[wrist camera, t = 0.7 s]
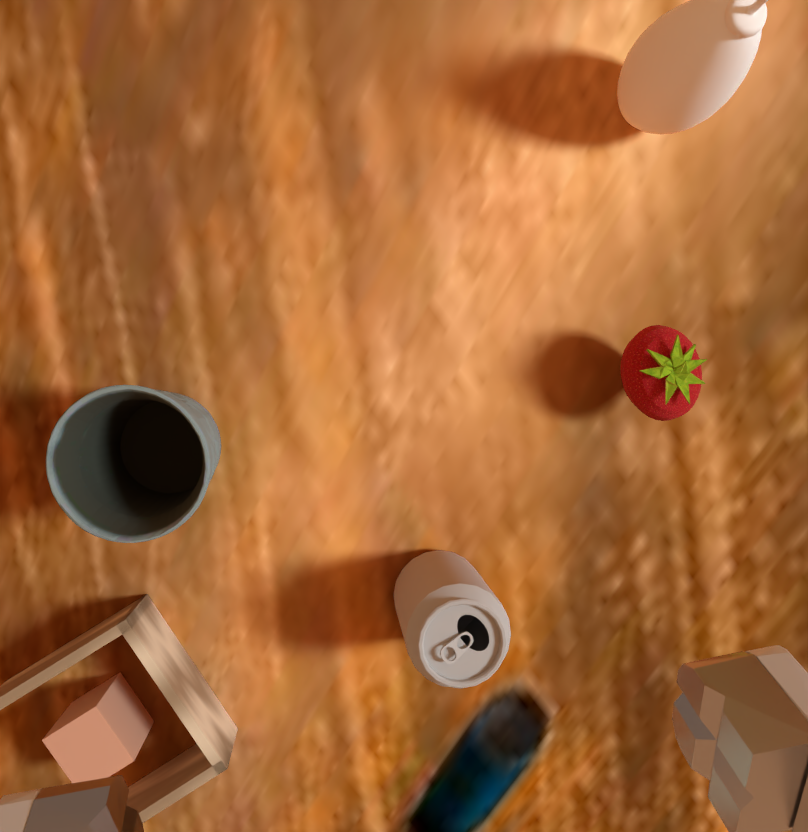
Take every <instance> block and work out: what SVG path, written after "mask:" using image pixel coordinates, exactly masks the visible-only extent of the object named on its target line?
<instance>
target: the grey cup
mask: <svg viewBox="0 0 808 832" xmlns="http://www.w3.org/2000/svg"><path fill="white" fill-rule="evenodd" d="M220 453H221V439H220V434H219V430H218V427H217V425H216V423H215V422H214V420H213V418H212V416H211V414H210V413H209V412H208V411H207V410H206V409H205V408H204V407H203V406H202V405H201V404H199V403H198V402H196V401H195V400H193V399H191V398H189V397H187V396H184V395H182V394H178V393H171V392H167V391H161V390H154V389H150V388H147V387H142V386H134V385H116V386H110V387H105V388H101V389H99V390H96V391H93V392H91V393H89V394H87V395H85V396H84V397H82V398H81V399H79V400H78V401H76V402H75V403H74V404H72V405H71V406H70V407H69V408H68V409H67V410H66V411H65V412H64V414H63V415H62V416H61V417H60V419H59V420H58V422H57V423H56V425H55V427H54V429H53V431H52V433H51V436H50V439H49V442H48V446H47V453H46V472H47V479H48V482H49V485H50V488H51V491H52V494H53V496H54V498H55V499H56V501H57V503H58V504H59V506H60V507H61V508H62V510H63V511H64V512H65V513H66V515H67V516H68V517H69V518H70V519H71V520H72V521H73V522H74V523H75V524H76V525H78V526H79V527H80V528H82V529H83V530H84V531H86V532H88V533H90V534H92V535H94V536H97V537H100V538H103V539H106V540H109V541H114V542H122V543H136V542H144V541H149V540H153V539H156V538H159V537H162V536H164V535H166V534H168V533H170V532H172V531H174V530H175V529H177V528H178V527H179V526H181V525H182V524H183V523H184V522H186V521H187V520H188V519H189V518H190V517H191V516H192V515H193V513H194V512H195V511H196V509H197V508H198V507H199V505H200V503H201V501H202V499H203V497H204V495H205V493H206V490H207V487H208V484H209V482H210V480H211V479H212V476H213V474H214V471H215V469H216V467H217V464H218V461H219V458H220Z"/></svg>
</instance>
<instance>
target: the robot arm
mask: <svg viewBox="0 0 808 832" xmlns="http://www.w3.org/2000/svg"><path fill="white" fill-rule="evenodd" d="M677 684H678V685H679V687H680V688H681V690H682V691H683V693H682V694H681V695H680V696H679V698H678V699H677V700H676V701H675V702H674V705H673V717H672V720H673V725H674V730H675V734H676V738H677V741H678V743H679V746H680V748H681V751H682V753H683V755H684V756H685V758H686V760H687V762H688V763H689V765H690V767H691V769H693V770H694V771H696V772H698V773H699V774H701V775H702V776H704V777H705V778H707V779H708V780H710V782H709V791H708V798H709V799H710V801H711V803H712V804H713V806H714V808H715V809H716V811H717V813H718V814H719V816H720V818H721V819H722V821H723V823H724V824H725V826H726V828H727V829H728V831H729V832H782V831H788V830H792V832H808V673H807V672H806V671H805V670H804V668H803V667H802V666H801V665H800V664H799V663H798V662H797V661H796V659H795V658H794V657H793V656H792V655H791V654H790V653H789V652H788V650H786V649H785V648H783V647H781V646H779V645H776V646H770V647H765V648H760V649H755V650H750V651H746V652H742V651H741V652H736V653H732V654H727V655H722V656H717V657H713V658H708V659H703V660H699V661H694V662H689V663H684V664H683V665H682V666H681V667H680V668H679V670H678V676H677ZM128 794H129V789H128V787H127V785H126V782H125V780H124V778H123V776H122V775H120V776H113V777H107V778H101V779H96V780H90V781H84V782H78V783H72V784H66V785H60V786H54V787H48V788H42V789H37V790H31V791H26V792H21V793H15V794H10V795H4V796H3V797H2V798H1V800H0V832H144V830H143V824H142V821H141V818H140V815H139V813H138V811H137V810H135V809H133V808H131V807H129V806H127V799H128Z"/></svg>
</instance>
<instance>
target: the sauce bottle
mask: <svg viewBox="0 0 808 832" xmlns="http://www.w3.org/2000/svg"><path fill="white" fill-rule="evenodd" d="M767 1H768V0H691V1H688V2H686V3H684V4H681V5H680V6H678V7H676V8H674V9H672V10H670V11H668V12H667V13H665V14H664V15H662V16H661V17H660V18H658V19H657V20H656V21H655V22H654V23H653V24H652V25H650V26H649V27H648V28H647V29H646V30H645V31H644V32H643V33H642V34H641V35H640V37H639V38H638V39H637V41H636V42H635V44H634V45H633V47H632V48H631V49H630V51H629V53H628V55H627V57H626V59H625V61H624V64H623V66H622V69H621V72H620V76H619V80H618V89H617V97H618V105H619V109H620V112H621V114H622V116H623V117H624V119H625V120H626V121H627V122H628V123H629V124H630V125H632V126H633V127H635V128H637V129H639V130H641V131H644V132H647V133H653V134H672V133H676V132H680V131H684V130H687V129H690V128H692V127H694V126H696V125H697V124H699V123H701V122H703V121H705V120H706V119H708V118H709V117H711V116H712V115H713V114H714V113H715V112H716V111H718V110H719V109H720V108H721V107H722V106H723V105H724V104H725V103H726V102H727V101H728V100H729V99H730V98H731V97H732V95H733V94H734V93H735V91H736V90H737V88H738V87H739V86H740V84H741V83H742V81H743V80H744V78H745V76H746V75H747V73H748V71H749V69H750V67H751V65H752V62H753V60H754V58H755V55H756V53H757V50H758V46H759V43H760V39H761V33H762V28H763V26H764V24H765V22H766V18H767V7H766V4H765V3H766V2H767Z"/></svg>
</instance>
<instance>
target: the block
mask: <svg viewBox="0 0 808 832" xmlns="http://www.w3.org/2000/svg"><path fill="white" fill-rule="evenodd" d="M153 723H154V720H153V719H152V717H151V716H150V714H149V713H148V712H147V710H146V709H145V707H144V706H143V704H142V703H141V701H140V700H139V698H138V697H137V696H136V694H135V693H134V691H133V690H132V688H131V687H130V685H129V684H128V682H127V681H126V680H125V678H124V677H123V675H122V674H121V672H119V673H118V674H116V675H115V676H113V677H111V678H110V679H108V680H107V681H105V682H103V683H102V684H100V685H99V686H97V687H95V688H94V689H92V690H91V691H89V692H87V693H86V694H84V695H83V696H81V697H79V698H78V699H76V700H75V701H73V702H72V703H71V704H70V705H69V706H68V708H67V709H66V710H65V711H64V713H63V714H62V715H61V717H60V718H59V719H58V720H57V722H56V723H55V724H54V725H53V727H52V728H51V729H50V730H49V732H48V733H47V734H46V736H45V737H44V738H43V739H42V741H43V743H44V744H45V745H46V747H47V748H48V750H49V751H50V752H51V754H52V755H53V757H54V758H55V760H56V761H57V762H58V764H59V765H60V767H61V768H62V769H63V771H64V772H65V774H66V775H67V776H68V778H69V779H70V781H71V782H72V783H78V782H84V781H90V780H96V779H101V778H107V777H110V776H111V775H113V774H114V773H116V772H118V771H119V770H121V769H122V768H124V767H126V766H127V765H129V764H130V763H132V762H133V761H134V760H135V758H136V757H137V755H138V753H139V751H140V749H141V747H142V745H143V743H144V741H145V739H146V737H147V735H148V733H149V731H150V729H151V727H152V725H153Z"/></svg>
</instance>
